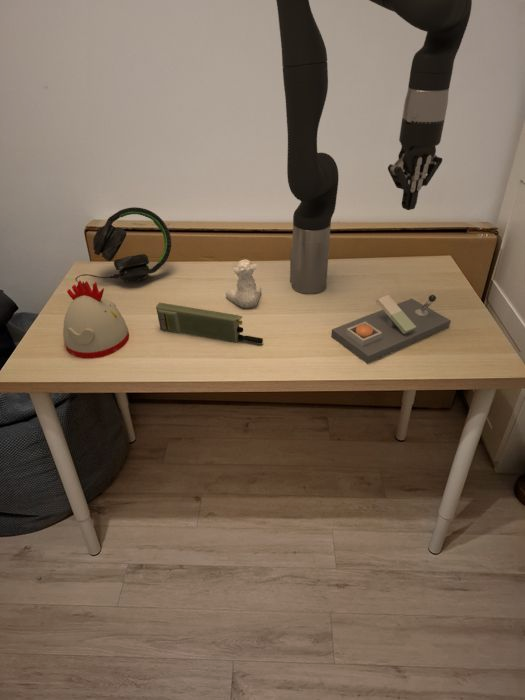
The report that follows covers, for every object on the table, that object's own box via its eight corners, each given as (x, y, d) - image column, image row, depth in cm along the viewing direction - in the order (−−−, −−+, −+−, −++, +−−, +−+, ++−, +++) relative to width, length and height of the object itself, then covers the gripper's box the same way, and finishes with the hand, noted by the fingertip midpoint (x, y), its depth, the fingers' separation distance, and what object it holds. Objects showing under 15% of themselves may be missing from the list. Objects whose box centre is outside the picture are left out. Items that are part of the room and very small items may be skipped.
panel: (331, 336, 109) (332, 323, 107) (410, 305, 119) (412, 292, 117) (367, 363, 101) (369, 350, 99) (448, 327, 111) (452, 314, 109)
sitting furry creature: (260, 291, 126) (259, 248, 119) (269, 307, 120) (269, 263, 113) (225, 296, 125) (222, 253, 117) (232, 313, 118) (229, 268, 111)
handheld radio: (165, 324, 115) (265, 341, 108) (158, 331, 112) (260, 350, 106) (160, 300, 111) (264, 316, 104) (154, 307, 108) (259, 325, 102)
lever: (417, 309, 113) (429, 294, 108) (422, 307, 113) (434, 292, 109) (421, 314, 112) (433, 299, 107) (426, 312, 113) (438, 297, 108)
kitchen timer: (114, 361, 103) (99, 300, 94) (54, 356, 105) (34, 295, 96) (138, 325, 114) (126, 268, 105) (83, 321, 116) (67, 264, 107)
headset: (103, 314, 135) (182, 248, 137) (100, 319, 122) (187, 246, 124) (56, 264, 129) (139, 196, 132) (47, 263, 116) (139, 188, 119)
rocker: (376, 301, 109) (377, 298, 108) (386, 297, 111) (388, 295, 110) (403, 334, 105) (405, 331, 104) (414, 329, 106) (416, 326, 105)
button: (351, 334, 106) (352, 327, 105) (364, 329, 107) (365, 322, 106) (362, 342, 103) (363, 335, 102) (375, 337, 105) (376, 329, 104)
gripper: (433, 108, 94) (417, 197, 104) (382, 116, 88) (371, 209, 98) (464, 115, 88) (444, 207, 99) (413, 123, 83) (397, 221, 93)
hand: (408, 208), depth 98 cm, fingers closed
